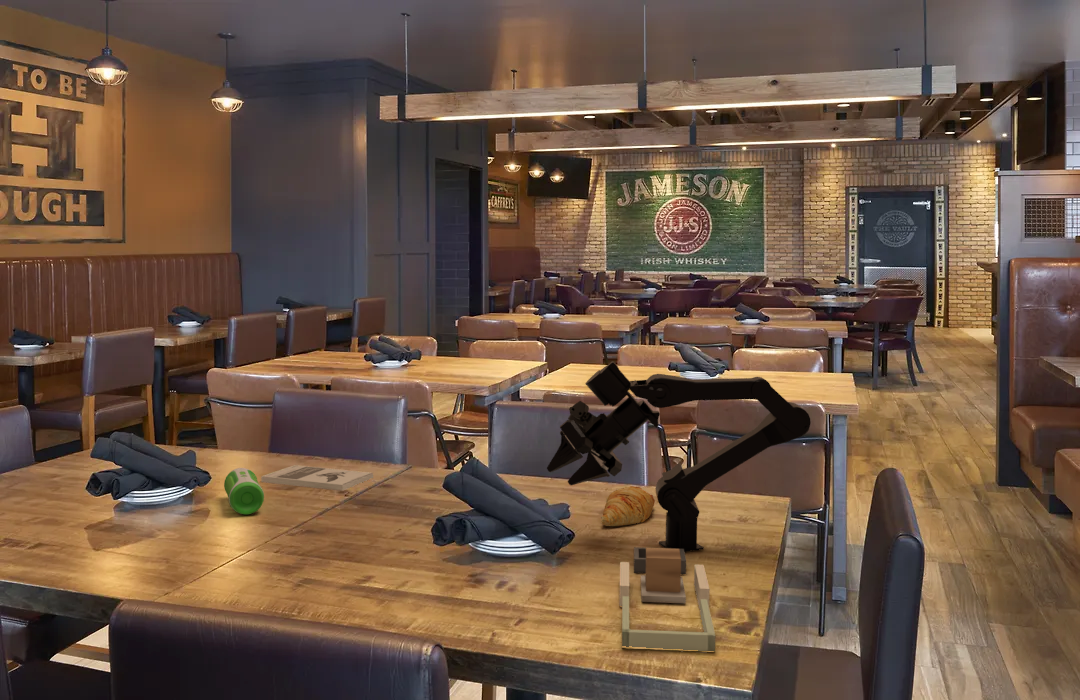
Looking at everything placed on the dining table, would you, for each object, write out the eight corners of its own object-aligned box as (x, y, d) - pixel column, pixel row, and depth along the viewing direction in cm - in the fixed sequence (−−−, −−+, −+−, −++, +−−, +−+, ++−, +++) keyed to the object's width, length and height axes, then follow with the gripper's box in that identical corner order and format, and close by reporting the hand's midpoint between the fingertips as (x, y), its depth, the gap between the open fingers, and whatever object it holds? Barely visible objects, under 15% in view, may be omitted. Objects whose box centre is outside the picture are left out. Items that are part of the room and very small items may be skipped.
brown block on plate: (640, 580, 165) (641, 543, 165) (682, 582, 165) (682, 544, 164) (641, 601, 155) (642, 562, 155) (685, 603, 155) (686, 563, 154)
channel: (619, 581, 166) (620, 561, 165) (703, 584, 164) (703, 564, 164) (619, 607, 154) (619, 585, 153) (708, 610, 152) (709, 588, 152)
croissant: (616, 548, 197) (633, 517, 194) (578, 519, 201) (594, 488, 198) (660, 522, 214) (676, 493, 212) (624, 496, 219) (639, 467, 216)
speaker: (265, 515, 207) (265, 481, 206) (229, 519, 204) (229, 483, 203) (257, 496, 223) (256, 464, 222) (223, 499, 220) (222, 466, 220)
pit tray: (633, 560, 177) (634, 547, 177) (683, 562, 177) (683, 548, 176) (634, 572, 170) (634, 559, 170) (685, 574, 170) (686, 560, 169)
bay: (622, 611, 152) (622, 596, 151) (706, 615, 151) (706, 599, 150) (621, 649, 137) (622, 631, 137) (715, 652, 136) (715, 635, 136)
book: (261, 484, 237) (261, 476, 237) (295, 472, 250) (294, 464, 249) (342, 493, 228) (342, 484, 228) (373, 480, 241) (373, 472, 241)
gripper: (616, 410, 196) (558, 460, 198) (578, 378, 181) (515, 432, 182) (647, 450, 190) (587, 501, 191) (610, 419, 174) (545, 475, 176)
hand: (558, 477), depth 185 cm, fingers open, 9 cm apart
